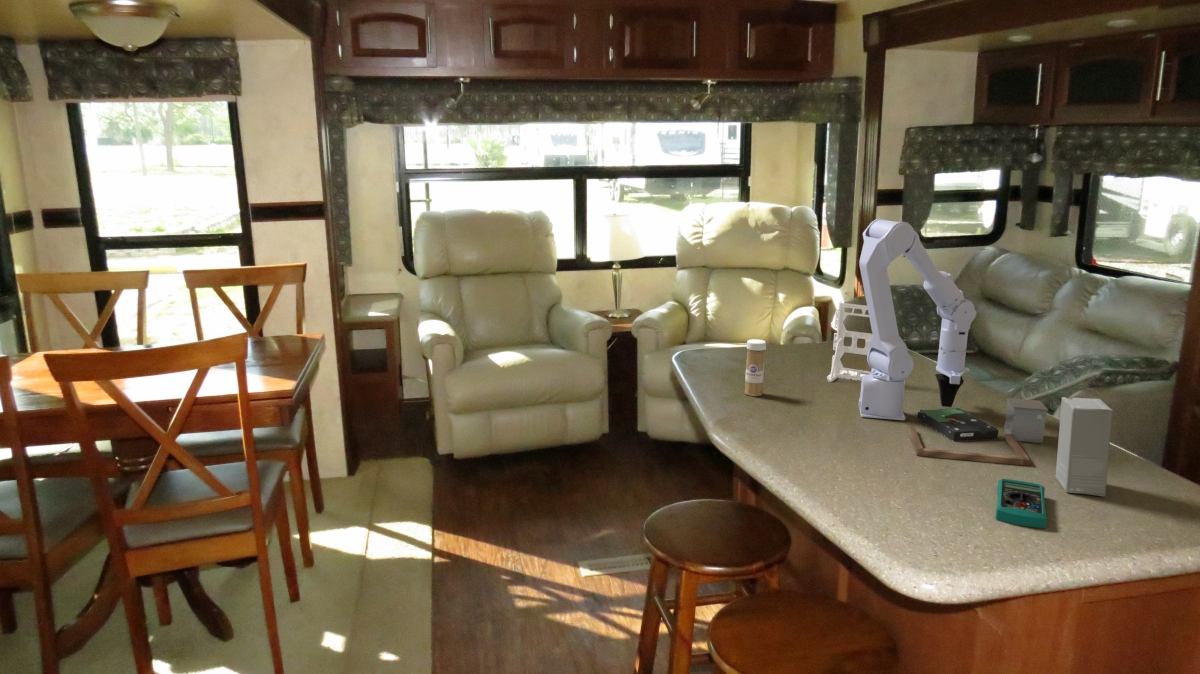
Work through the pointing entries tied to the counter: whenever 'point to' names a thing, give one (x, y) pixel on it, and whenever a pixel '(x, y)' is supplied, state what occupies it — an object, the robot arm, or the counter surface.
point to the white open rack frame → (841, 348)
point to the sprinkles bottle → (755, 367)
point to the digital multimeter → (1021, 503)
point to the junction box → (1025, 420)
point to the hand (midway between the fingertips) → (946, 405)
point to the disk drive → (958, 424)
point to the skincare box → (1083, 445)
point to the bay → (1019, 452)
